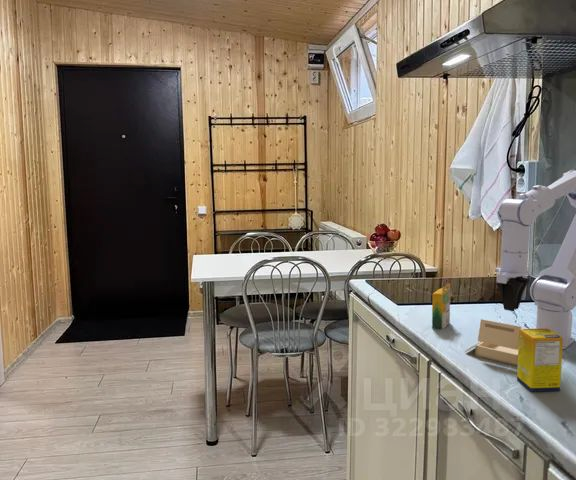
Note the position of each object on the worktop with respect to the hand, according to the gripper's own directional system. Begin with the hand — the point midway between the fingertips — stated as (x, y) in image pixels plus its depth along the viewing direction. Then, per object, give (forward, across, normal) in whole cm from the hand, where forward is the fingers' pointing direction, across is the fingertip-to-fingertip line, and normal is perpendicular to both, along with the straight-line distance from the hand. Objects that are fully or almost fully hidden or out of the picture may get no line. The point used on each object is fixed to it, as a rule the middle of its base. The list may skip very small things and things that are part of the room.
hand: (511, 309), depth 118 cm
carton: (+10, 0, 0) cm, 10 cm away
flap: (+4, +7, 0) cm, 8 cm away
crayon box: (+11, -9, -22) cm, 26 cm away
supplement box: (+11, +15, +11) cm, 22 cm away
